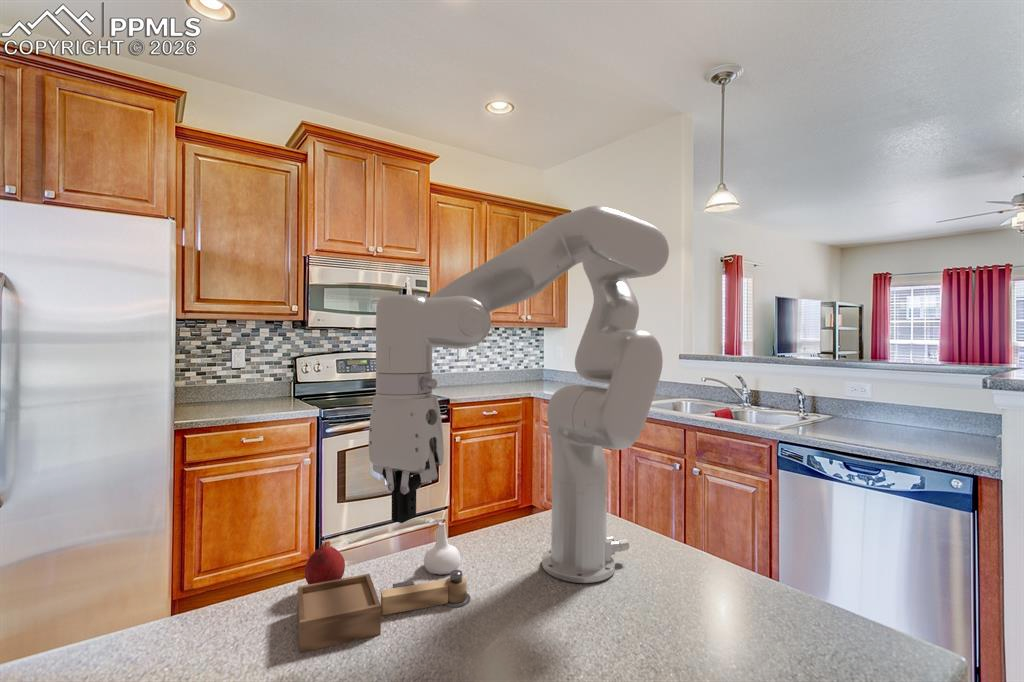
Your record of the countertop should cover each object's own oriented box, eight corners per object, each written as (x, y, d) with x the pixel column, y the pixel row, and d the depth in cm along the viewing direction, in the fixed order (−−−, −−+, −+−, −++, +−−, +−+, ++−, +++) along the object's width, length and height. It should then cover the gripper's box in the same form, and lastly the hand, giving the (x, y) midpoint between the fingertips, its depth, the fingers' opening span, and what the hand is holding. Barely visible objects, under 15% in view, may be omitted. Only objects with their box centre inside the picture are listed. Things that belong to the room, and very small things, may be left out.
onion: (331, 604, 74) (331, 550, 74) (296, 600, 75) (297, 547, 75) (351, 585, 80) (351, 535, 80) (318, 582, 81) (319, 532, 81)
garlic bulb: (466, 568, 88) (469, 521, 88) (445, 579, 82) (448, 530, 83) (437, 560, 91) (440, 515, 91) (415, 571, 85) (418, 523, 86)
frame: (463, 588, 80) (463, 562, 79) (474, 603, 75) (474, 576, 75) (392, 602, 75) (392, 575, 75) (399, 620, 70) (399, 591, 70)
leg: (463, 590, 78) (463, 574, 78) (469, 600, 75) (469, 584, 75) (380, 605, 73) (380, 588, 73) (383, 617, 70) (383, 599, 70)
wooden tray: (369, 598, 76) (369, 573, 76) (380, 634, 67) (381, 605, 67) (297, 612, 72) (297, 586, 72) (299, 652, 63) (299, 622, 63)
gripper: (464, 386, 68) (464, 520, 68) (383, 381, 76) (383, 502, 76) (429, 391, 62) (428, 540, 62) (344, 385, 69) (344, 517, 69)
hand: (404, 518), depth 69 cm, fingers closed
